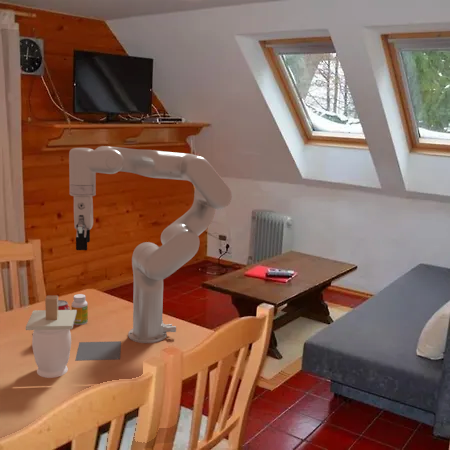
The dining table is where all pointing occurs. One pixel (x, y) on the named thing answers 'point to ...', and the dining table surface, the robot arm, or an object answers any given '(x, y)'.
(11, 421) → the dining table surface
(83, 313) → the supplement bottle
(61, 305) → the beverage can
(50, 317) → the lid
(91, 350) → the mat
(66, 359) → the jar
